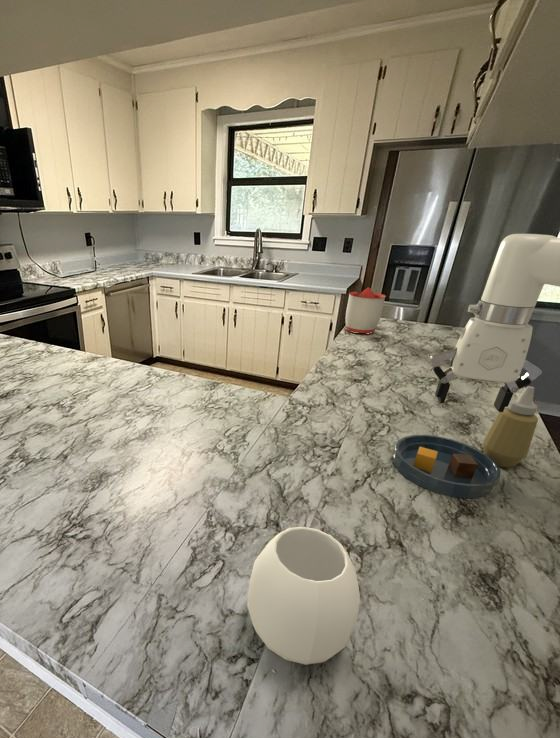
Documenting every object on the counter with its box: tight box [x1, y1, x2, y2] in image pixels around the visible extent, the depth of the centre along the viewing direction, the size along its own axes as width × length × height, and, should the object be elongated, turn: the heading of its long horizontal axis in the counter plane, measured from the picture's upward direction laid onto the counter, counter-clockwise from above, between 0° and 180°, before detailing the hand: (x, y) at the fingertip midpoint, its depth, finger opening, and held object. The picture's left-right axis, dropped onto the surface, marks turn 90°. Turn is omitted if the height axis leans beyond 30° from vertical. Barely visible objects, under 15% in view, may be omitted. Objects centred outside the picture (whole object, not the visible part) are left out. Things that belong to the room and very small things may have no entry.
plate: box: [391, 434, 501, 499], centre depth 84 cm, size 19×19×4 cm
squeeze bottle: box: [482, 385, 539, 468], centre depth 84 cm, size 8×8×18 cm
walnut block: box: [448, 454, 478, 478], centre depth 82 cm, size 4×4×4 cm
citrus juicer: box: [345, 287, 387, 333], centre depth 181 cm, size 16×17×20 cm
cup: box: [246, 526, 361, 666], centre depth 49 cm, size 13×13×14 cm
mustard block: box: [414, 447, 438, 472], centre depth 84 cm, size 4×4×4 cm
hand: (468, 404), depth 75 cm, fingers open, 9 cm apart
